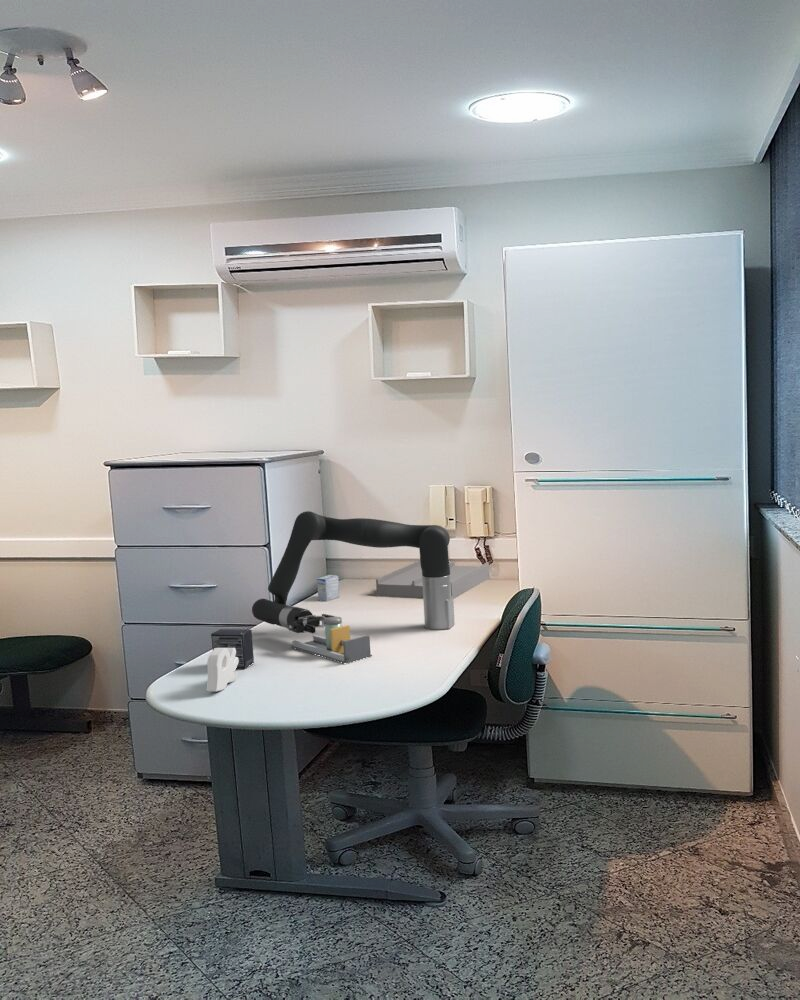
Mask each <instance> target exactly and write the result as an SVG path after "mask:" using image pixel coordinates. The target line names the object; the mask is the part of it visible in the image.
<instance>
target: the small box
mask: <svg viewBox="0 0 800 1000" xmlns="http://www.w3.org/2000/svg"><path fill="white" fill-rule="evenodd" d="M252 631H253V629H252V628H251V629H243V628H242V629H237V628H236V629H235V628H234V629H232V628H231V629H230V628H229V629H227V628H225V629H224V628H222V629H221V628H220V629H218V630H216V631H213V632H212V633H210V637H211V645H212V646H211V647H212V651H213V650H214V648H235V649H236V655H235V657H238V659H239V663H238V665H237V668H246V669H248V668H249V667H250V666H249V665H251V664H252V663H254V664H255V657H254V656H255V655H254V647H253V646H254V645H253V632H252ZM252 665H253V664H252ZM252 665H251V666H252ZM248 666H249V667H248ZM247 667H248V668H247Z"/></svg>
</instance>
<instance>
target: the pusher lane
mask: <svg viewBox="0 0 800 1000" xmlns="http://www.w3.org/2000/svg"><path fill="white" fill-rule="evenodd" d="M370 636H371V635H369V634H366V635H362V636H359V637H355V638H354V637H353V638H350V640H346V641H343V648H344V653H342V654H339V653H336V652H332V651H329V650H327V649H326V637H324V636H320V635H317V634H314V635H313V636H312V640H309V641H305V642H301V641H298V640H291V646H290V648H291V647H293V648H292V649H294V648H296V649H295V650H297V649H299V650H298V651H300V650H303V651H302V652H304V651H306V652H305V653H307V652H309V653H308V654H310V653H313V654H312V655H314V654H316V655H315V656H317V655H320V656H323V657H326V658H325V659H327V658H329V659H328V660H330V659H332V660H331V661H333V660H336V661H339V662H338V663H340V662H342V663H341V664H343V663H348V664H351V663H354V662H353V661H355V662H357V661H356V660H358V661H360V659H362V660H364V659H363V658H365V659H367V658H366V657H369V658H371V657H370V656H372V657H373V654H372V653H371V639H370V638H371V637H370ZM320 656H319V657H320ZM323 657H322V658H323ZM336 661H335V662H336ZM350 662H351V663H350Z"/></svg>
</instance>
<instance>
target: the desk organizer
mask: <svg viewBox="0 0 800 1000" xmlns="http://www.w3.org/2000/svg"><path fill="white" fill-rule="evenodd" d="M449 566H450V579H451V596H453V600H455V599H456V598H458V597H459V596H461V595H464V594H465V593H466V592H468V591H470V590H472V589H473V588H475V587H478V586H479V585H480V584H482V583H484V582H486V581H487V580H489V579H490V562H488V561H487V562H484V563H482V564H481V565H479V566H475V565H474V566H473V565H472V566H471V565H469V566H467V565H455V561H454V560H453V561H450V562H449ZM375 583H376V584H375V588H376V589H375V590H376V596H377V597H389V598H390V597H391V598H409V599H412V598H413V599H423V582H422V569H421V564H420V561H419V560H417V561H414V562H413V563H410V564H408V565H405V566H403V567H401V568H398V569H396V570H394V571H392V572H389V573H388V574H385V575H383V576H380V577H378V578H376V579H375Z"/></svg>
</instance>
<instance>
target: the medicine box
mask: <svg viewBox="0 0 800 1000" xmlns="http://www.w3.org/2000/svg"><path fill="white" fill-rule="evenodd" d="M316 581H317V582H316V583H317V597H318V598H317V599H318V601H321V602H329V601H331V600H335V599H338V598H340V583H339V575H334V574H328V575H325V576H321V577H318V578H317V579H316Z"/></svg>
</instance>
